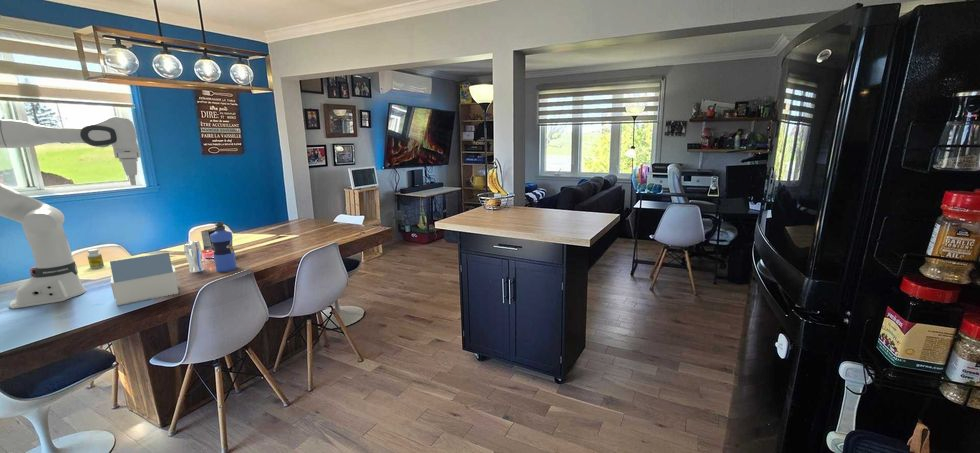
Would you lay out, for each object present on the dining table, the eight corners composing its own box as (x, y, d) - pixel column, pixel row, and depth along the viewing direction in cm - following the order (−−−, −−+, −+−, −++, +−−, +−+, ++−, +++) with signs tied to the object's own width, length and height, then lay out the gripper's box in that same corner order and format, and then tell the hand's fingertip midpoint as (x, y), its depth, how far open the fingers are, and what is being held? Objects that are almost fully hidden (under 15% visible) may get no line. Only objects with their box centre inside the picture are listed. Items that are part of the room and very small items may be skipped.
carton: (115, 306, 164) (110, 283, 162) (116, 296, 175) (111, 274, 173) (180, 293, 178) (175, 271, 176) (177, 284, 188) (173, 264, 186)
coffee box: (214, 259, 229) (209, 231, 225) (205, 258, 230) (200, 231, 226) (227, 254, 237) (223, 227, 234) (218, 254, 239) (214, 227, 235)
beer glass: (191, 274, 203) (185, 245, 200) (186, 271, 208) (181, 243, 204) (207, 270, 209) (202, 242, 206) (202, 268, 213) (197, 240, 210)
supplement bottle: (103, 264, 221) (100, 247, 219) (104, 266, 217) (100, 249, 215) (90, 267, 218) (86, 249, 216) (90, 269, 214) (86, 251, 212)
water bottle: (213, 273, 204) (204, 224, 199) (219, 267, 213) (212, 221, 208) (233, 271, 207) (226, 223, 201) (239, 265, 216) (232, 219, 210)
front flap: (113, 282, 163) (113, 282, 162) (110, 261, 164) (109, 261, 164) (173, 272, 175) (173, 271, 175) (168, 252, 177) (168, 252, 176)
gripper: (118, 153, 188) (124, 183, 191) (117, 154, 173) (124, 186, 176) (135, 153, 192) (141, 182, 195) (137, 154, 178) (143, 185, 180)
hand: (133, 184), depth 186 cm, fingers open, 8 cm apart
